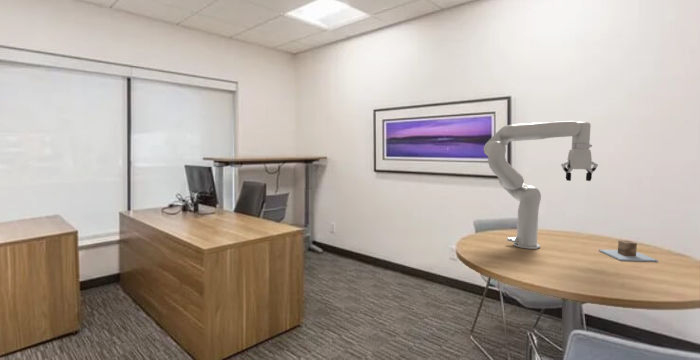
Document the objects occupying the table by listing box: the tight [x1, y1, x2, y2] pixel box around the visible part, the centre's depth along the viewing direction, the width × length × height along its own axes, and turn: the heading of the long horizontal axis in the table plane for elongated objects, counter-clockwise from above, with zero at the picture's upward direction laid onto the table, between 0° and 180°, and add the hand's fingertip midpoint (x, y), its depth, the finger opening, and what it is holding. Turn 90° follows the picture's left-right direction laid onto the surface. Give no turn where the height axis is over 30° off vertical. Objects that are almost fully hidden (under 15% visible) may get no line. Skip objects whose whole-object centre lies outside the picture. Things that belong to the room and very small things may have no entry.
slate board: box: [598, 248, 658, 263], centre depth 173 cm, size 16×16×1 cm
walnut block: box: [617, 240, 638, 256], centre depth 173 cm, size 5×5×6 cm
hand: (578, 180), depth 186 cm, fingers open, 9 cm apart
